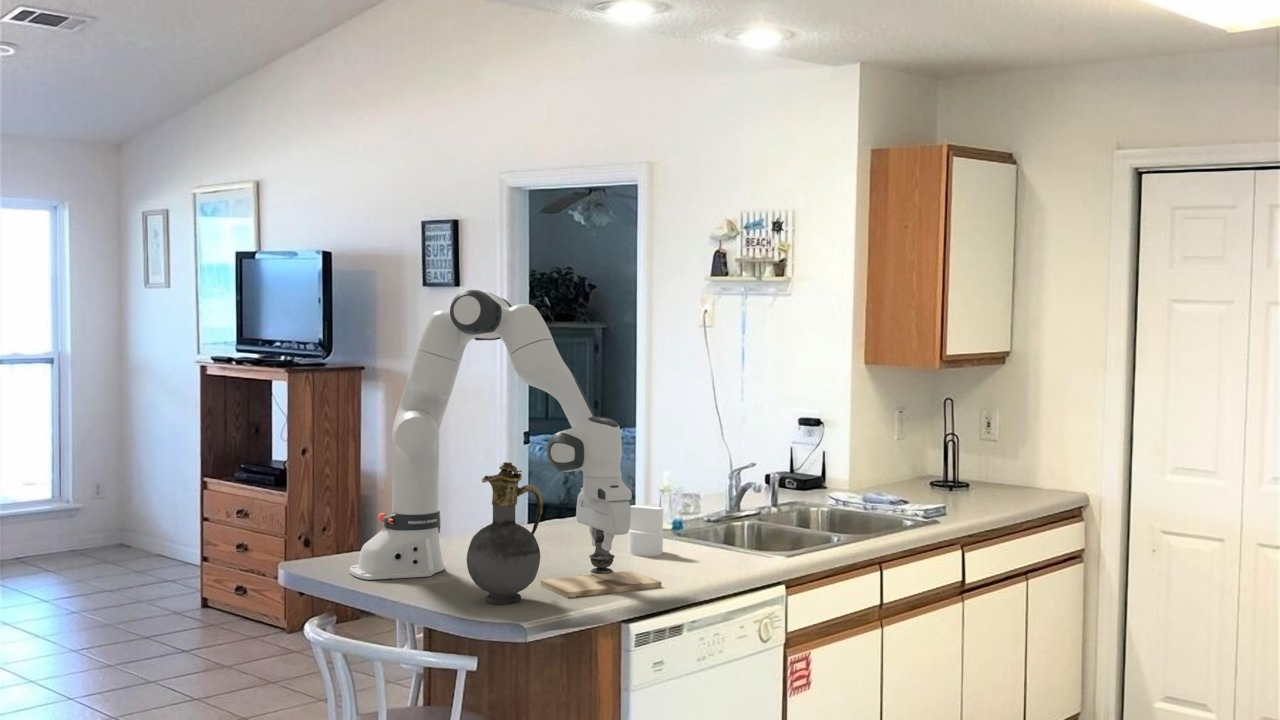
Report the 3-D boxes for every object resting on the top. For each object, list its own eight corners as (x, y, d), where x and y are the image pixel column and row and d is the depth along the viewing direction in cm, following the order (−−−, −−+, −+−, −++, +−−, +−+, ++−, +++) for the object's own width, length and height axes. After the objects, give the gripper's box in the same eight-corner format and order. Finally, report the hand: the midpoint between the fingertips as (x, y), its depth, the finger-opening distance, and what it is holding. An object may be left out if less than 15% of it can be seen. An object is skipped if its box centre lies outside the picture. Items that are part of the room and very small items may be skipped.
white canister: (668, 551, 328) (668, 506, 327) (654, 557, 320) (654, 511, 319) (637, 548, 332) (637, 503, 331) (622, 554, 323) (623, 508, 323)
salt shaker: (617, 569, 287) (618, 518, 287) (610, 575, 282) (610, 522, 281) (593, 568, 289) (594, 516, 288) (585, 573, 283) (586, 521, 283)
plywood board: (567, 597, 273) (567, 591, 273) (540, 585, 285) (540, 579, 285) (661, 587, 285) (661, 580, 285) (631, 575, 297) (631, 569, 297)
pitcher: (459, 602, 268) (460, 464, 267) (524, 588, 282) (525, 456, 281) (492, 610, 261) (493, 468, 259) (558, 596, 275) (559, 461, 274)
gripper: (569, 483, 292) (569, 541, 292) (610, 495, 274) (610, 557, 275) (593, 481, 295) (593, 539, 296) (635, 493, 277) (635, 554, 278)
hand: (601, 548), depth 285 cm, fingers closed on salt shaker, 3 cm apart
